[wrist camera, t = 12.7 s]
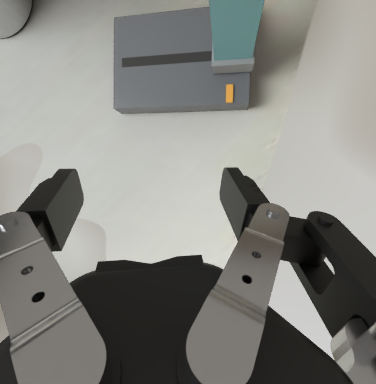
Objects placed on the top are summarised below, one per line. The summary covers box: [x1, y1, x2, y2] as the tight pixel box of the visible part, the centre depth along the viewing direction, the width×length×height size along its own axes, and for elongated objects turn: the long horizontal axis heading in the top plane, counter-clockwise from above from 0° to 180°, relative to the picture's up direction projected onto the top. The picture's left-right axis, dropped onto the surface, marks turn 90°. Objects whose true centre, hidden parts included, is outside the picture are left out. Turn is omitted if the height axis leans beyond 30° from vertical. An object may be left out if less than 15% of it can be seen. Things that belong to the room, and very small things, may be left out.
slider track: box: [114, 7, 250, 114], centre depth 24 cm, size 15×10×2 cm, turn 89°
